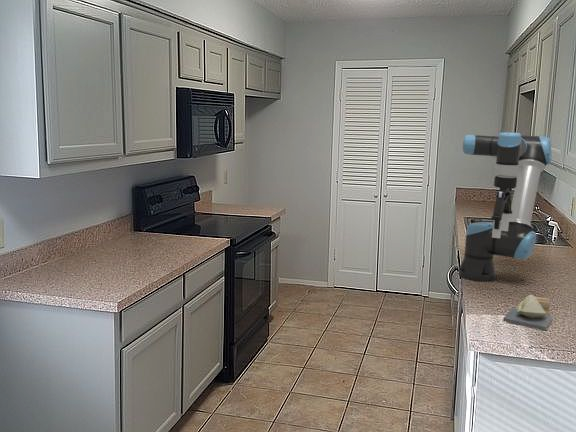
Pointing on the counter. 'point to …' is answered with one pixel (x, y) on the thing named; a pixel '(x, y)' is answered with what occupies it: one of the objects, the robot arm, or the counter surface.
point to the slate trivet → (528, 320)
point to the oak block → (544, 304)
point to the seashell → (531, 308)
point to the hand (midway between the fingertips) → (500, 234)
